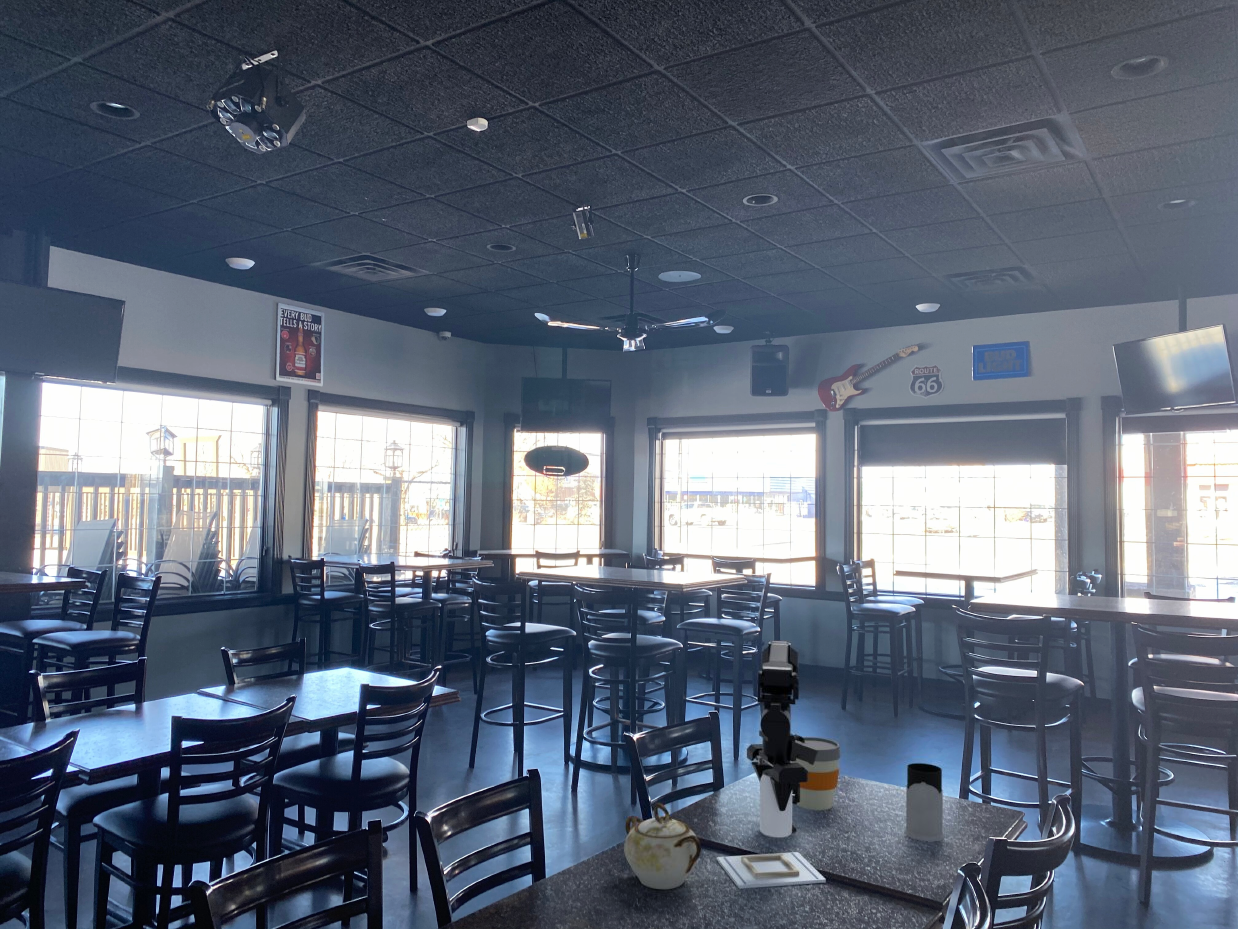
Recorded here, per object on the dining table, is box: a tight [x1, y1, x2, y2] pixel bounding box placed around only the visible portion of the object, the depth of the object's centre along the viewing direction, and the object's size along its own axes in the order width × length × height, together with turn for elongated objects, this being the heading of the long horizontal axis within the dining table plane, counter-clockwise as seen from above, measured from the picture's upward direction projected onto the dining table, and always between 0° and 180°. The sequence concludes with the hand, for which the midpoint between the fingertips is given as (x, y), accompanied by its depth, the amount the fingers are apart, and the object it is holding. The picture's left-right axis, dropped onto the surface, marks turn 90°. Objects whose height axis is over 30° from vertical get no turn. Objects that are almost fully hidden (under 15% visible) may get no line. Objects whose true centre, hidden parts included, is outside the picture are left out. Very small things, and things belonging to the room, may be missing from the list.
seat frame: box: [741, 854, 799, 879], centre depth 183 cm, size 9×9×1 cm
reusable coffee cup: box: [790, 736, 841, 811], centre depth 224 cm, size 13×13×15 cm
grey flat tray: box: [716, 851, 826, 890], centre depth 183 cm, size 14×18×1 cm
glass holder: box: [903, 762, 945, 843], centre depth 207 cm, size 9×14×15 cm, turn 158°
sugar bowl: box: [623, 802, 702, 890], centre depth 177 cm, size 20×15×15 cm
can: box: [759, 769, 793, 839], centre depth 184 cm, size 6×6×12 cm
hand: (775, 805), depth 184 cm, fingers closed on can, 6 cm apart
